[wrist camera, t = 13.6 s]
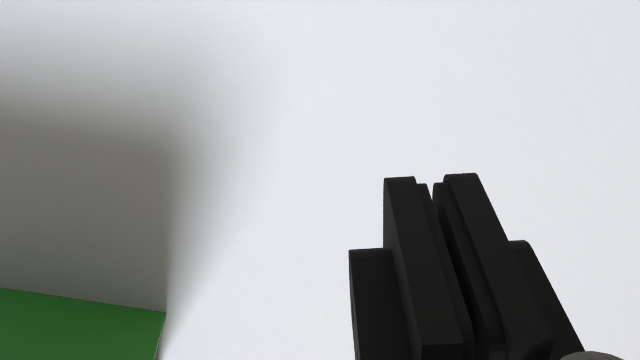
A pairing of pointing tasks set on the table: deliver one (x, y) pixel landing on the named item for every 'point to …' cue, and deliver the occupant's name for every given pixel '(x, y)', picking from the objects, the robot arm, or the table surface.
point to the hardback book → (74, 329)
